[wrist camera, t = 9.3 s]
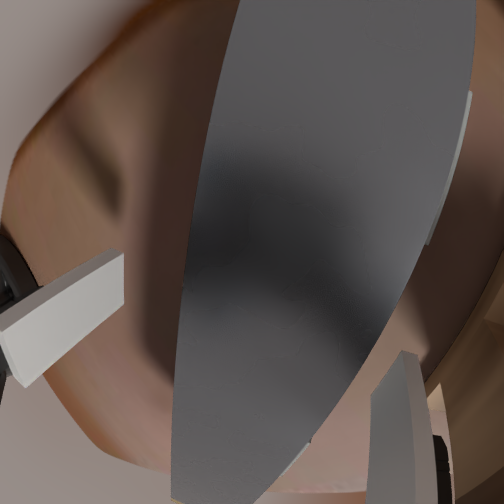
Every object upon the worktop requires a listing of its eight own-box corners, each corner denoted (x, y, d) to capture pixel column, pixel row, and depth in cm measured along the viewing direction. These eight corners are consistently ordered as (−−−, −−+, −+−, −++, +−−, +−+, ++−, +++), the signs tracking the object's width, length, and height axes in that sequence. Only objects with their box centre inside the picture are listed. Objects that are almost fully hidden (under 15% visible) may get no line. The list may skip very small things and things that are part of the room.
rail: (250, 480, 16) (229, 525, 12) (196, 458, 17) (171, 500, 13) (434, 11, 5) (472, -53, 2) (308, -22, 6) (274, -98, 2)
